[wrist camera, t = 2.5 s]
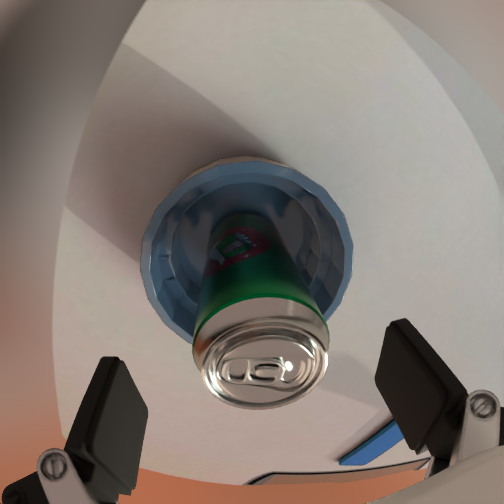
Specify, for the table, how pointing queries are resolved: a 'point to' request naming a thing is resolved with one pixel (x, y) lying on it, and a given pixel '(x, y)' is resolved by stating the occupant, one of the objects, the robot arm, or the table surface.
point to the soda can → (256, 319)
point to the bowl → (232, 202)
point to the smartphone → (374, 446)
